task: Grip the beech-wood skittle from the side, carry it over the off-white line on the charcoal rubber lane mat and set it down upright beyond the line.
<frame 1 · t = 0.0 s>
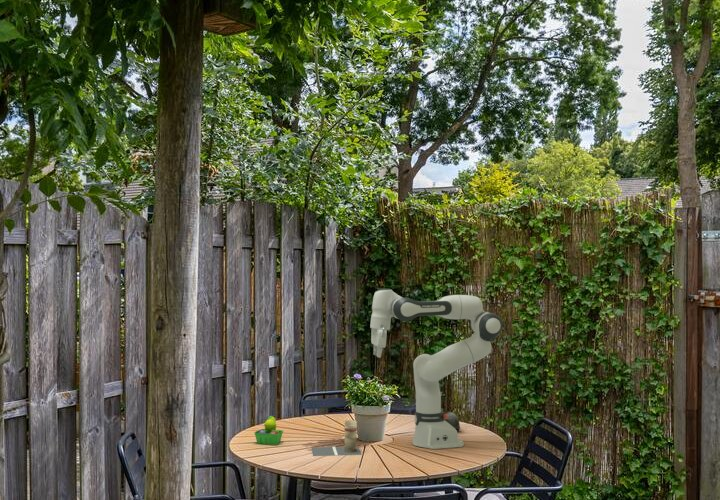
hand: (377, 356, 285), 39 cm above the table, tool pointing down, fingers open, 8 cm apart
rock: (445, 430, 315), on the table
fruit basket: (269, 443, 287), on the table
lane mat: (336, 453, 268), on the table
skittle: (350, 450, 269), point 1 cm above the table, touching lane mat
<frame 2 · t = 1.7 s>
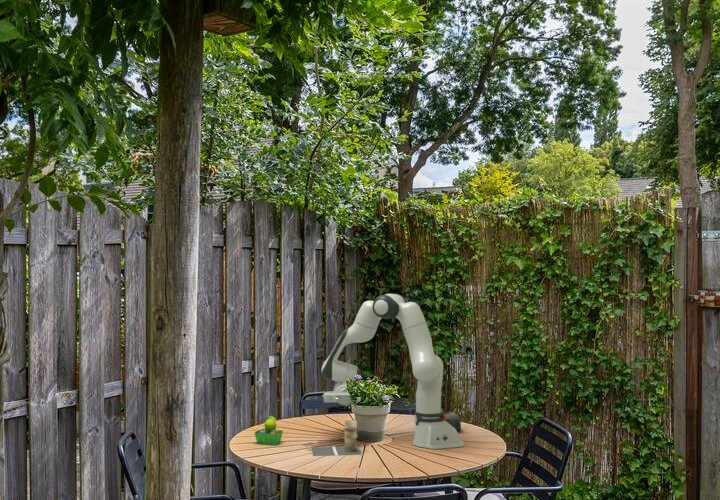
hand: (347, 400, 282), 20 cm above the table, tool horizontal, fingers open, 8 cm apart
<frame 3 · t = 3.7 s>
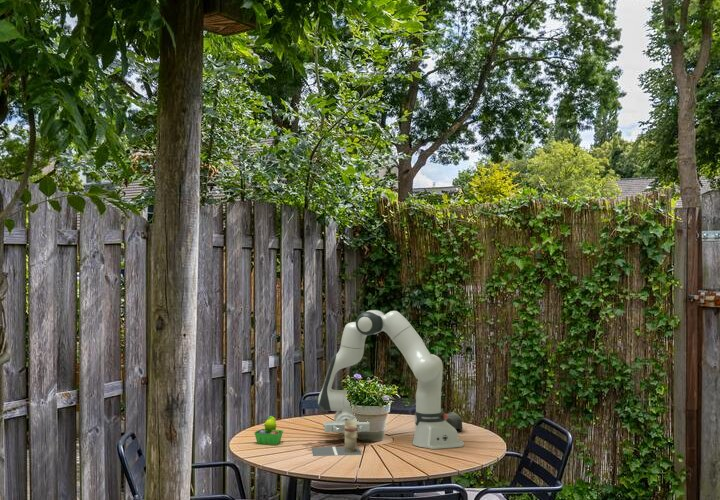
hand: (348, 430, 278), 8 cm above the table, tool horizontal, fingers open, 8 cm apart
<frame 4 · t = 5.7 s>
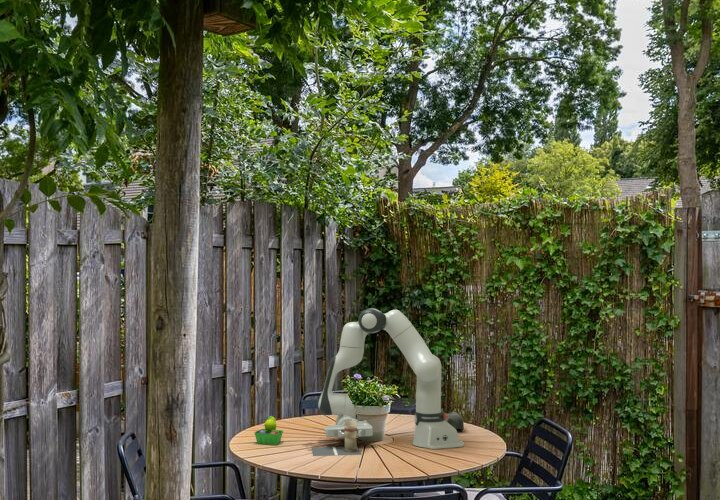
hand: (350, 435, 269), 8 cm above the table, tool horizontal, fingers closed on skittle, 5 cm apart
skittle: (350, 450, 269), point 1 cm above the table, touching gripper, lane mat
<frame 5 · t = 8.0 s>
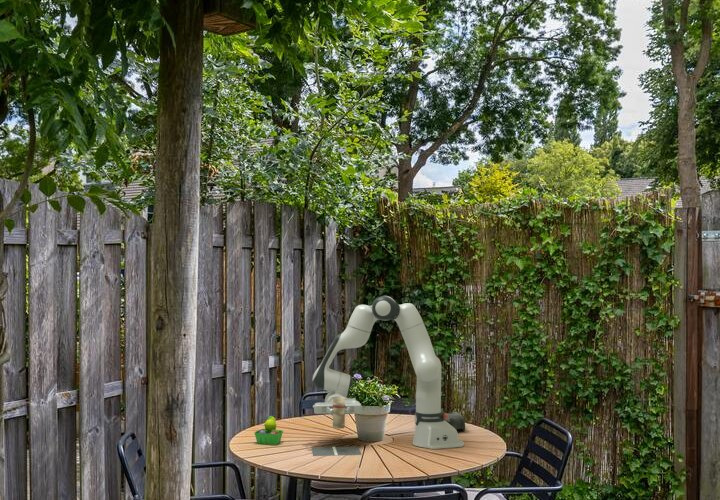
hand: (339, 411, 269), 17 cm above the table, tool horizontal, fingers closed on skittle, 5 cm apart
skittle: (338, 427, 269), point 11 cm above the table, touching gripper
when the fingers open (9 cm above the table, at t = 10.4 s): skittle drops 1 cm, resting on lane mat.
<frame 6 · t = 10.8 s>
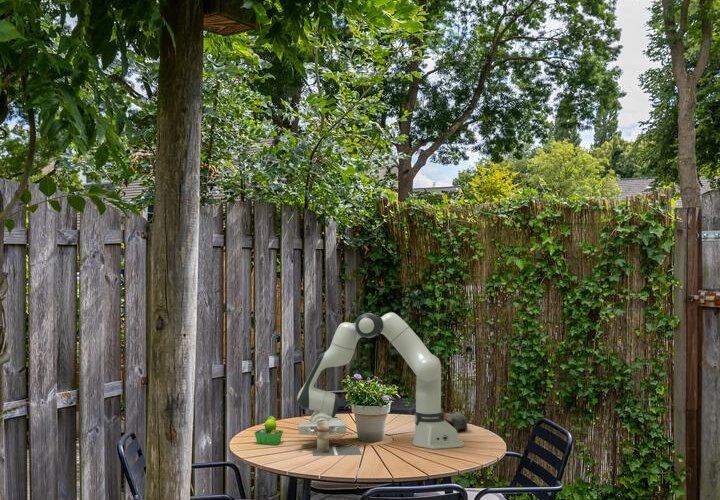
hand: (323, 432, 267), 9 cm above the table, tool horizontal, fingers open, 8 cm apart
skittle: (323, 451, 268), point 1 cm above the table, touching lane mat
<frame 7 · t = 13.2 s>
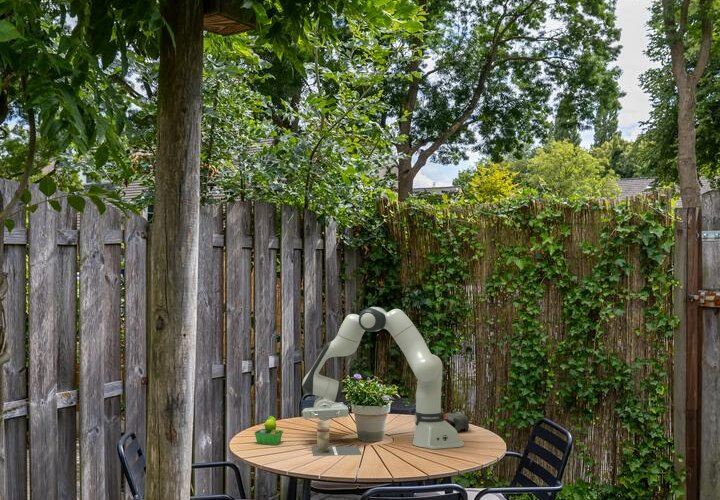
hand: (326, 415, 278), 14 cm above the table, tool horizontal, fingers open, 8 cm apart
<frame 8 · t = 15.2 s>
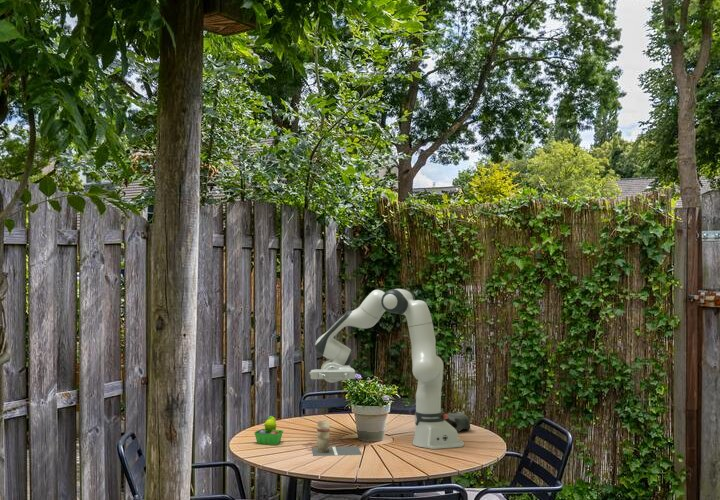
hand: (334, 376, 283), 30 cm above the table, tool horizontal, fingers open, 8 cm apart
at the end: skittle inside the target area (1.5 cm from its centre), point 1.0 cm above the table; skittle tilted 0°; the gripper is holding nothing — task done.
